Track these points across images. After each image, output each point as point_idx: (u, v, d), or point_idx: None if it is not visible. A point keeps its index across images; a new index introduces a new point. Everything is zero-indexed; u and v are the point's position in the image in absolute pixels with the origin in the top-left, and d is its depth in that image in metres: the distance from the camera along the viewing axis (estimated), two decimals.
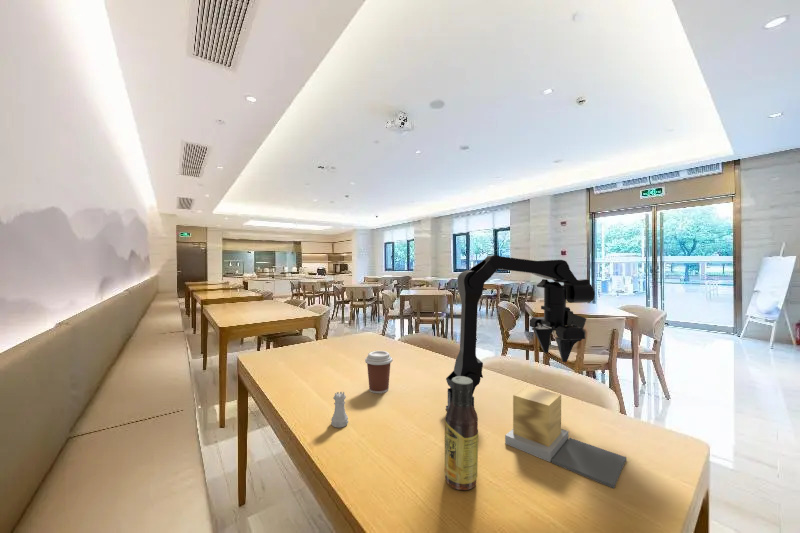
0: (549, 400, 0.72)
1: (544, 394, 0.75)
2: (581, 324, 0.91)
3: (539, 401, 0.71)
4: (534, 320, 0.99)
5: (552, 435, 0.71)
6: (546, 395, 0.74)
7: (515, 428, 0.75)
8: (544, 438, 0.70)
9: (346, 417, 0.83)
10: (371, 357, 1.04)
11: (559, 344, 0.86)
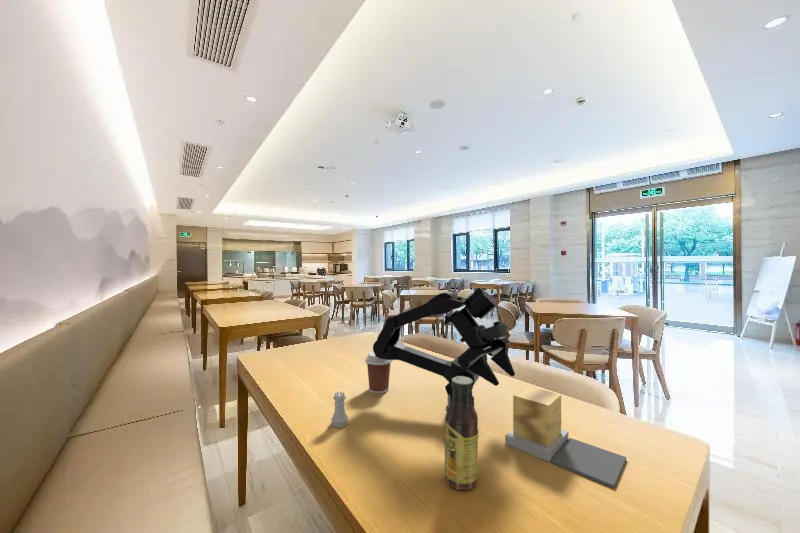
0: (549, 400, 0.72)
1: (544, 394, 0.75)
2: (494, 334, 0.80)
3: (539, 401, 0.71)
4: None
5: (552, 435, 0.71)
6: (546, 395, 0.74)
7: (515, 428, 0.75)
8: (544, 438, 0.70)
9: (346, 417, 0.83)
10: (371, 357, 1.04)
11: None
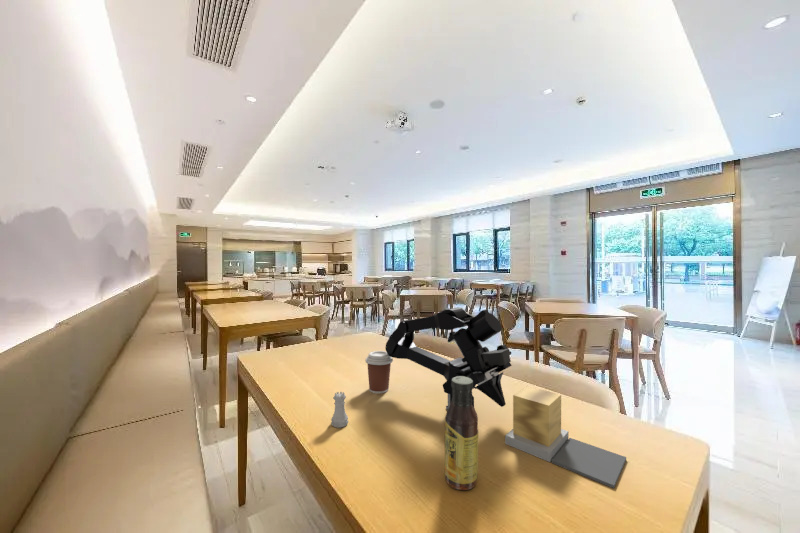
0: (549, 400, 0.72)
1: (544, 394, 0.75)
2: (497, 361, 0.79)
3: (539, 401, 0.71)
4: None
5: (552, 435, 0.71)
6: (546, 395, 0.74)
7: (515, 428, 0.75)
8: (544, 438, 0.70)
9: (346, 417, 0.83)
10: (371, 357, 1.04)
11: None
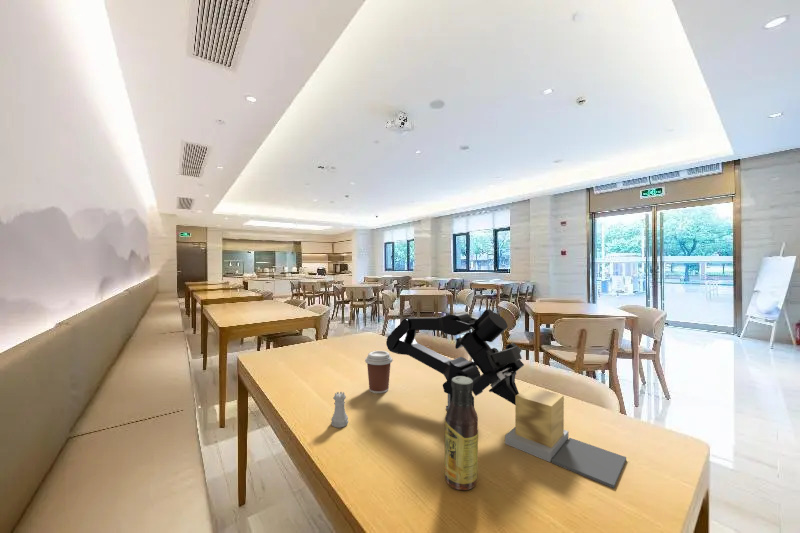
0: (552, 401, 0.71)
1: (547, 394, 0.75)
2: (507, 359, 0.77)
3: (542, 402, 0.71)
4: None
5: (555, 436, 0.71)
6: (548, 396, 0.74)
7: (517, 429, 0.74)
8: (547, 439, 0.70)
9: (346, 417, 0.83)
10: (371, 357, 1.04)
11: None
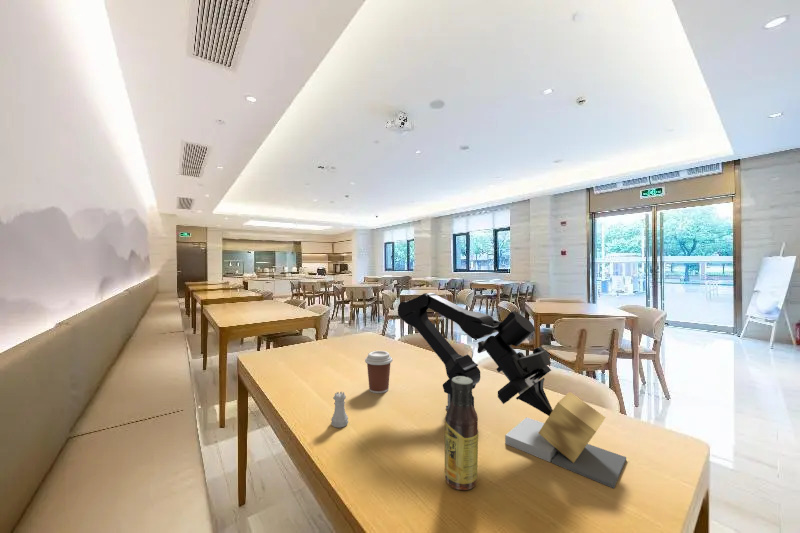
0: (595, 423, 0.65)
1: (589, 411, 0.69)
2: (537, 364, 0.73)
3: (585, 421, 0.65)
4: None
5: None
6: (591, 414, 0.68)
7: (543, 430, 0.70)
8: (572, 454, 0.66)
9: (346, 417, 0.83)
10: (371, 357, 1.04)
11: None
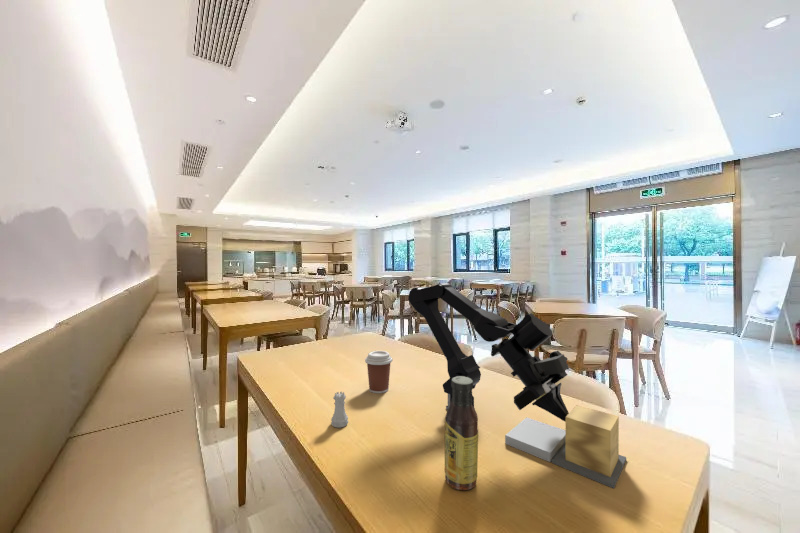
0: (609, 424, 0.64)
1: (600, 415, 0.68)
2: (554, 369, 0.70)
3: (597, 425, 0.64)
4: None
5: (613, 463, 0.63)
6: (602, 417, 0.67)
7: (568, 454, 0.67)
8: (604, 467, 0.62)
9: (346, 417, 0.83)
10: (371, 357, 1.04)
11: None
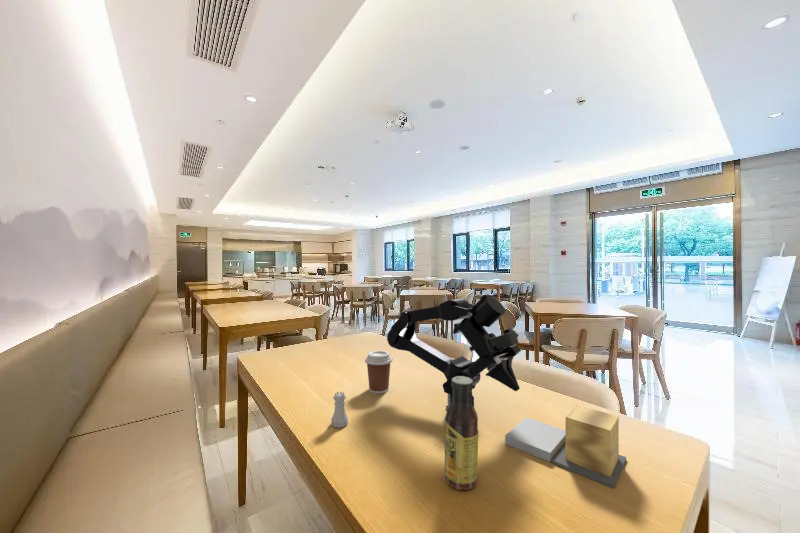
0: (609, 424, 0.64)
1: (600, 415, 0.68)
2: (504, 343, 0.78)
3: (597, 425, 0.64)
4: None
5: (613, 463, 0.63)
6: (602, 417, 0.67)
7: (568, 454, 0.67)
8: (604, 467, 0.62)
9: (346, 417, 0.83)
10: (371, 357, 1.04)
11: None
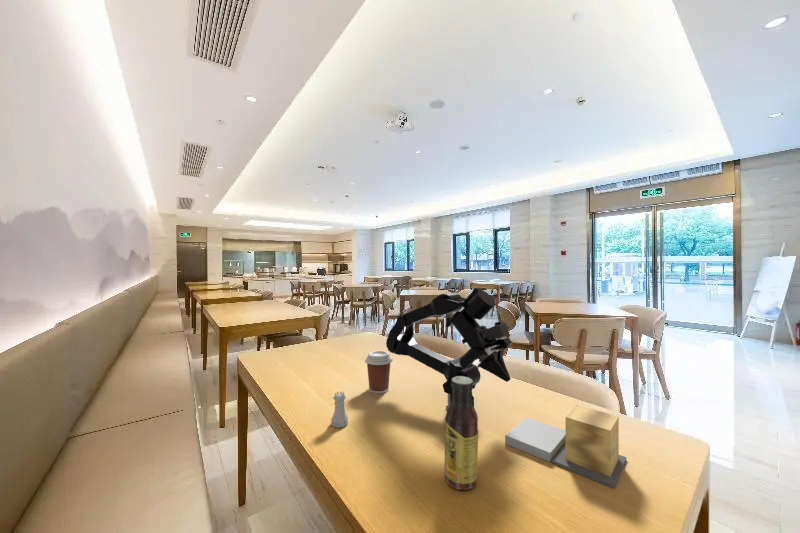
0: (609, 424, 0.64)
1: (600, 415, 0.68)
2: (495, 334, 0.80)
3: (597, 425, 0.64)
4: None
5: (613, 463, 0.63)
6: (602, 417, 0.67)
7: (568, 454, 0.67)
8: (604, 467, 0.62)
9: (346, 417, 0.83)
10: (371, 357, 1.04)
11: None
